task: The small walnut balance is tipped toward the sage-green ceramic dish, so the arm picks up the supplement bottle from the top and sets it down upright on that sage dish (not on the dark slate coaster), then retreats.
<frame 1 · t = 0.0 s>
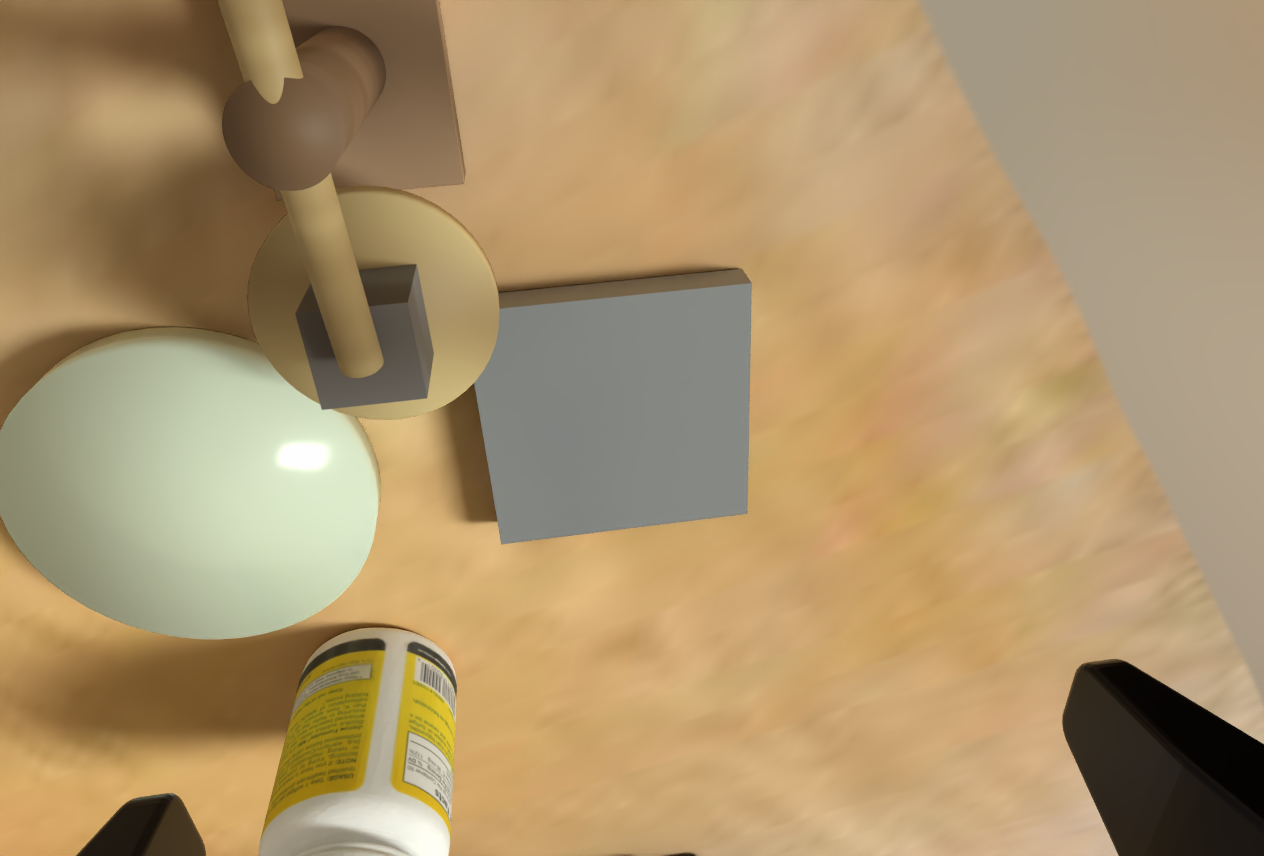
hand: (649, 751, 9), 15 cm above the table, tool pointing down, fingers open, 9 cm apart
sage dish: (206, 482, 23), on the table
balance: (352, 62, 18), on the table
slate coaster: (613, 403, 23), on the table
supplement bottle: (382, 672, 28), on the table
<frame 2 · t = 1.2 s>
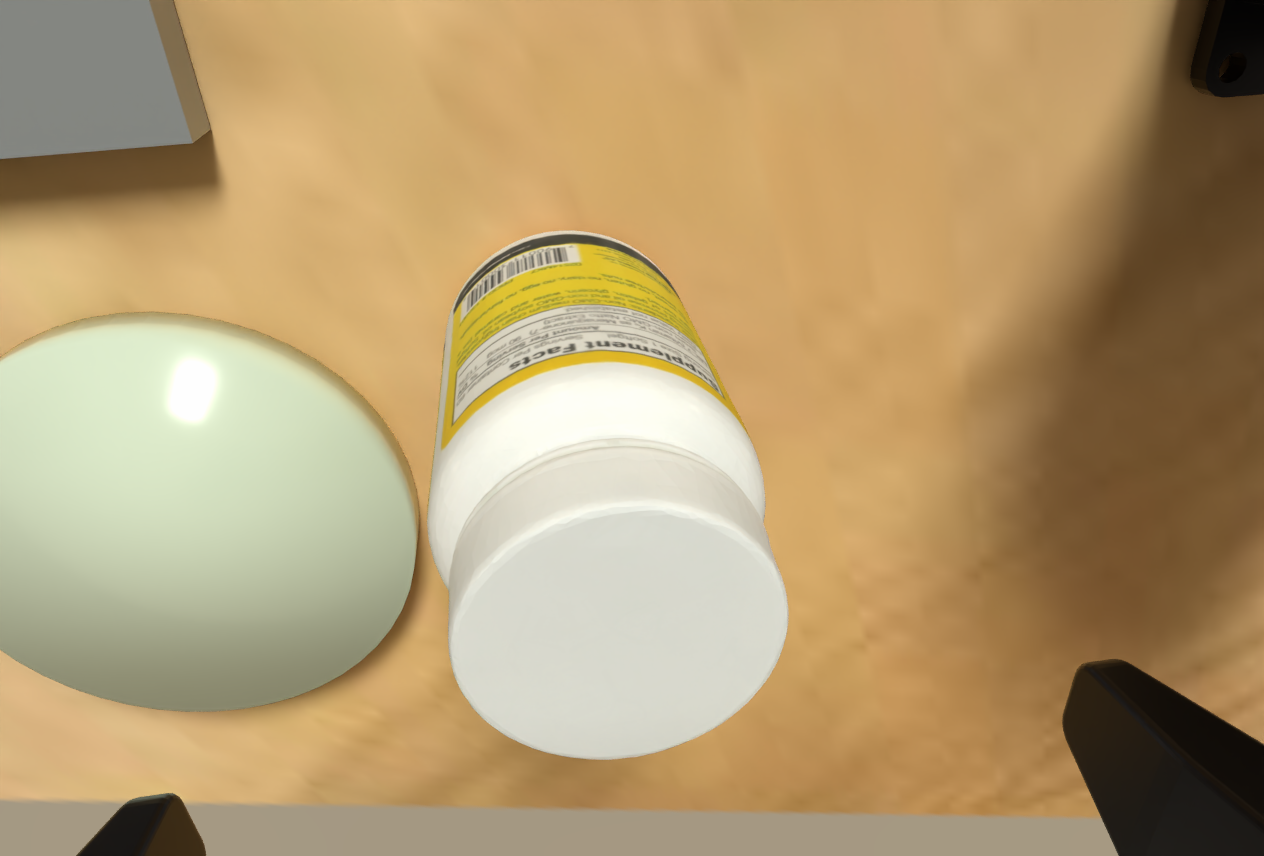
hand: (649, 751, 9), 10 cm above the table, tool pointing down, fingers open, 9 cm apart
sage dish: (195, 513, 18), on the table
supplement bottle: (567, 336, 17), on the table
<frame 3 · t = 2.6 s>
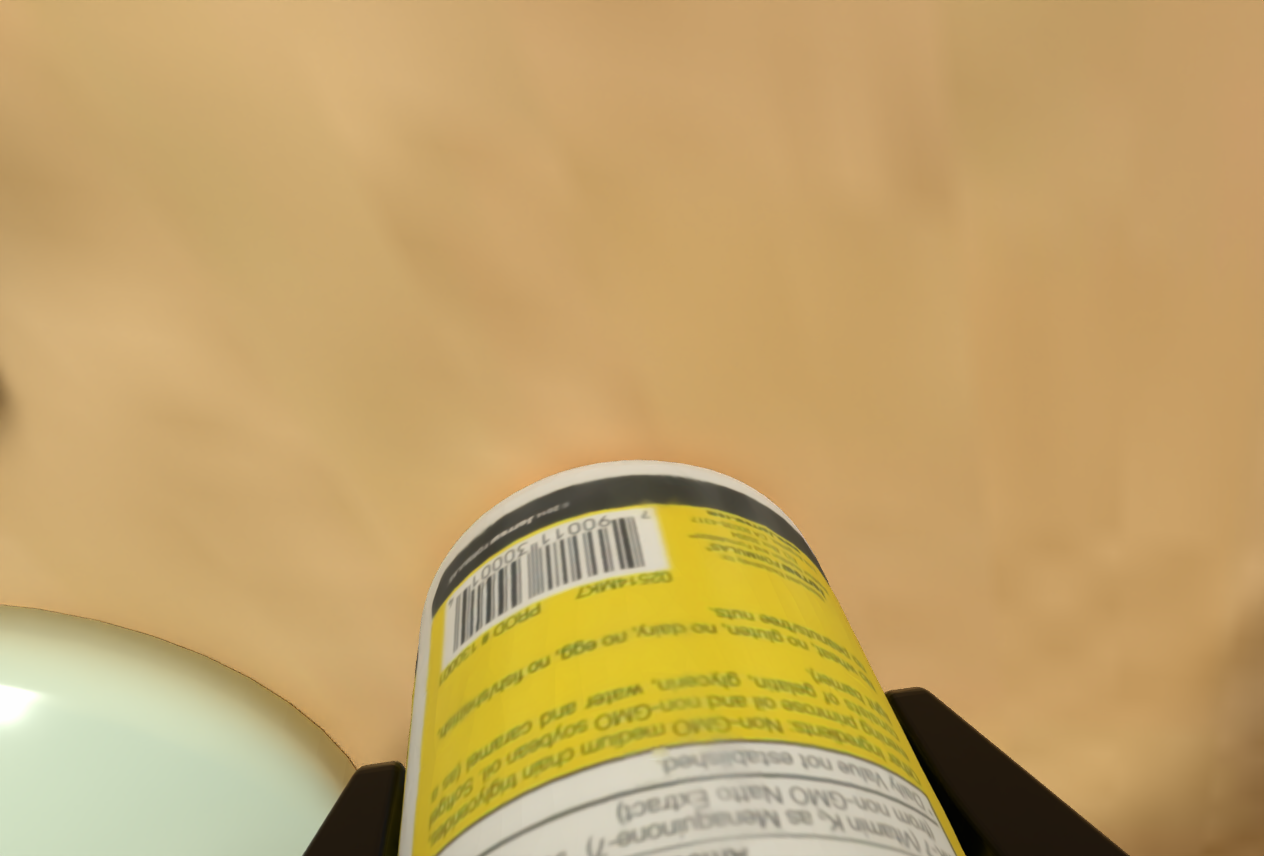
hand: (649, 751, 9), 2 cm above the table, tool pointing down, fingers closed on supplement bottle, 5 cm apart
supplement bottle: (622, 601, 11), on the table, touching gripper
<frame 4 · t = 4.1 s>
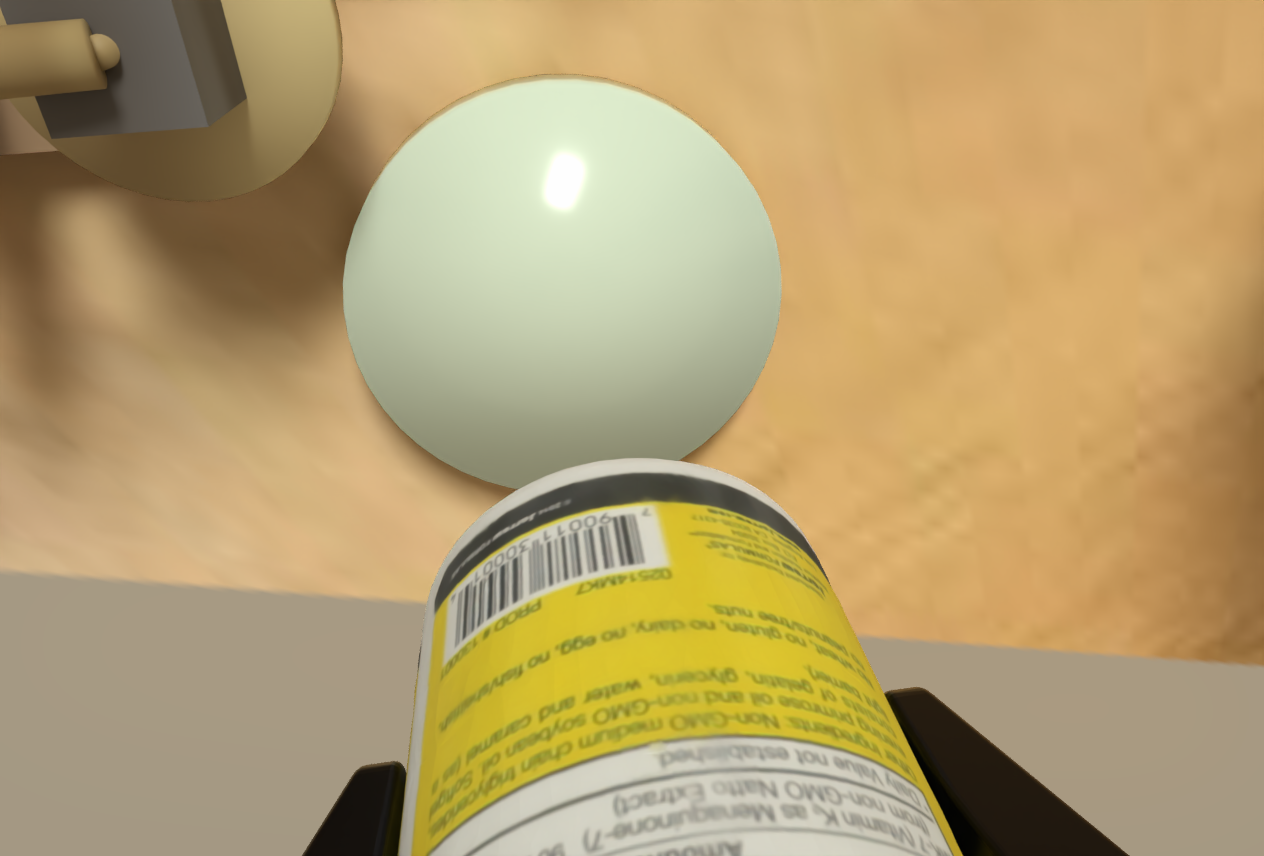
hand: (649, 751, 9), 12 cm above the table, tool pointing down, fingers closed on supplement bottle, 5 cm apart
sage dish: (565, 292, 19), on the table
supplement bottle: (624, 598, 11), point 10 cm above the table, touching gripper
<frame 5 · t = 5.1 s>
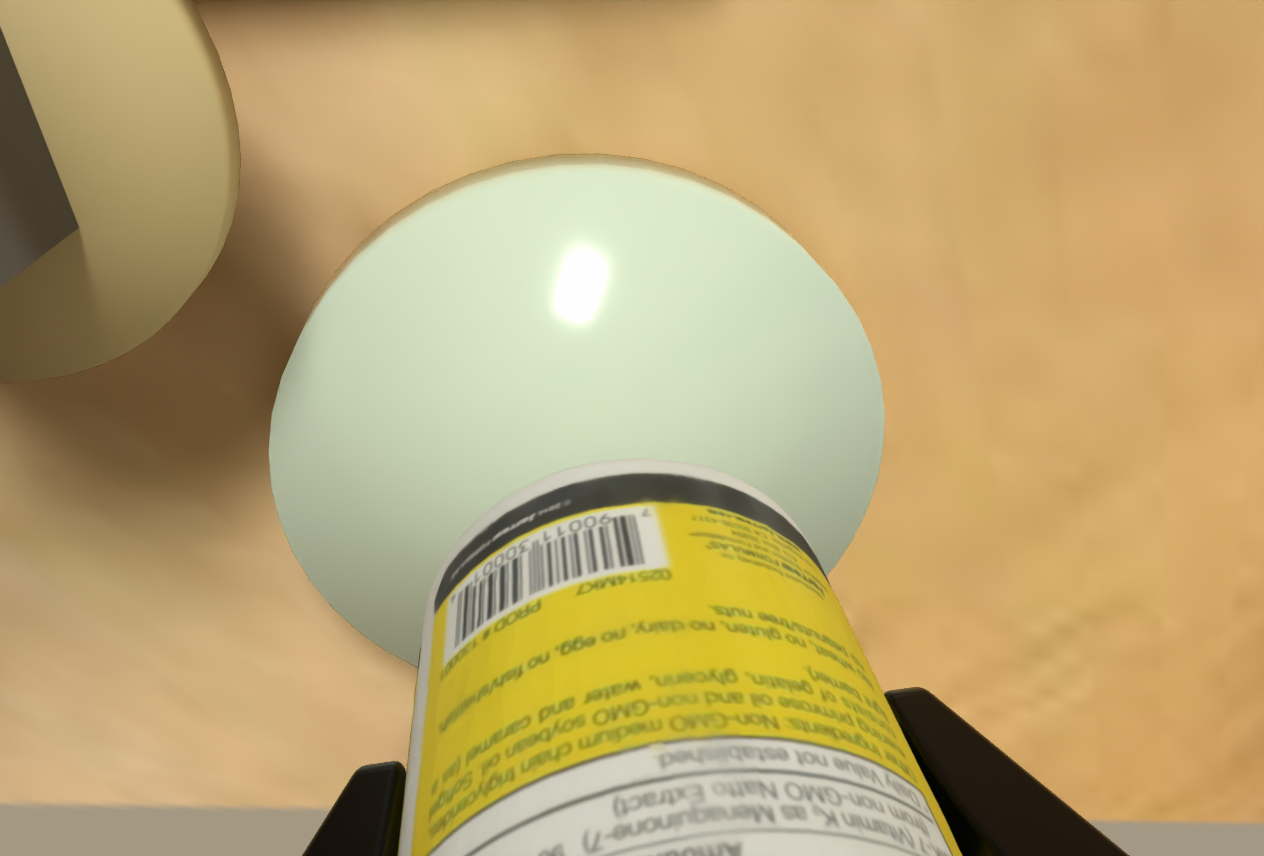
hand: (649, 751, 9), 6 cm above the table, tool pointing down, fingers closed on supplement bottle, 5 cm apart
sage dish: (583, 440, 14), on the table
supplement bottle: (624, 598, 11), point 4 cm above the table, touching gripper
when the fingers open (5 cm above the table, at t = 5.7 s): supplement bottle drops 1 cm, resting on sage dish.
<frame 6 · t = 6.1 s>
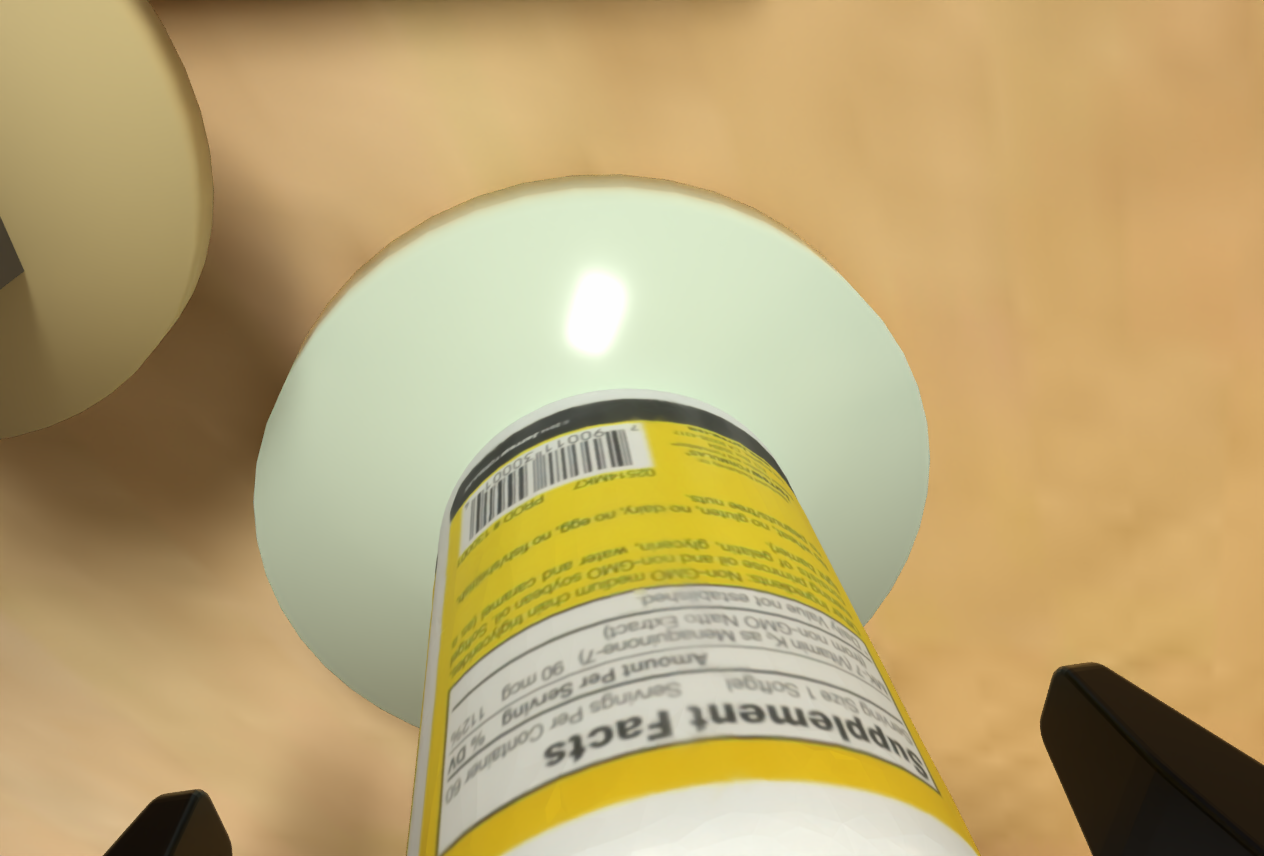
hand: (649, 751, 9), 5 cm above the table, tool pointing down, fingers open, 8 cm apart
sage dish: (598, 483, 13), on the table
supplement bottle: (617, 523, 12), point 1 cm above the table, touching sage dish
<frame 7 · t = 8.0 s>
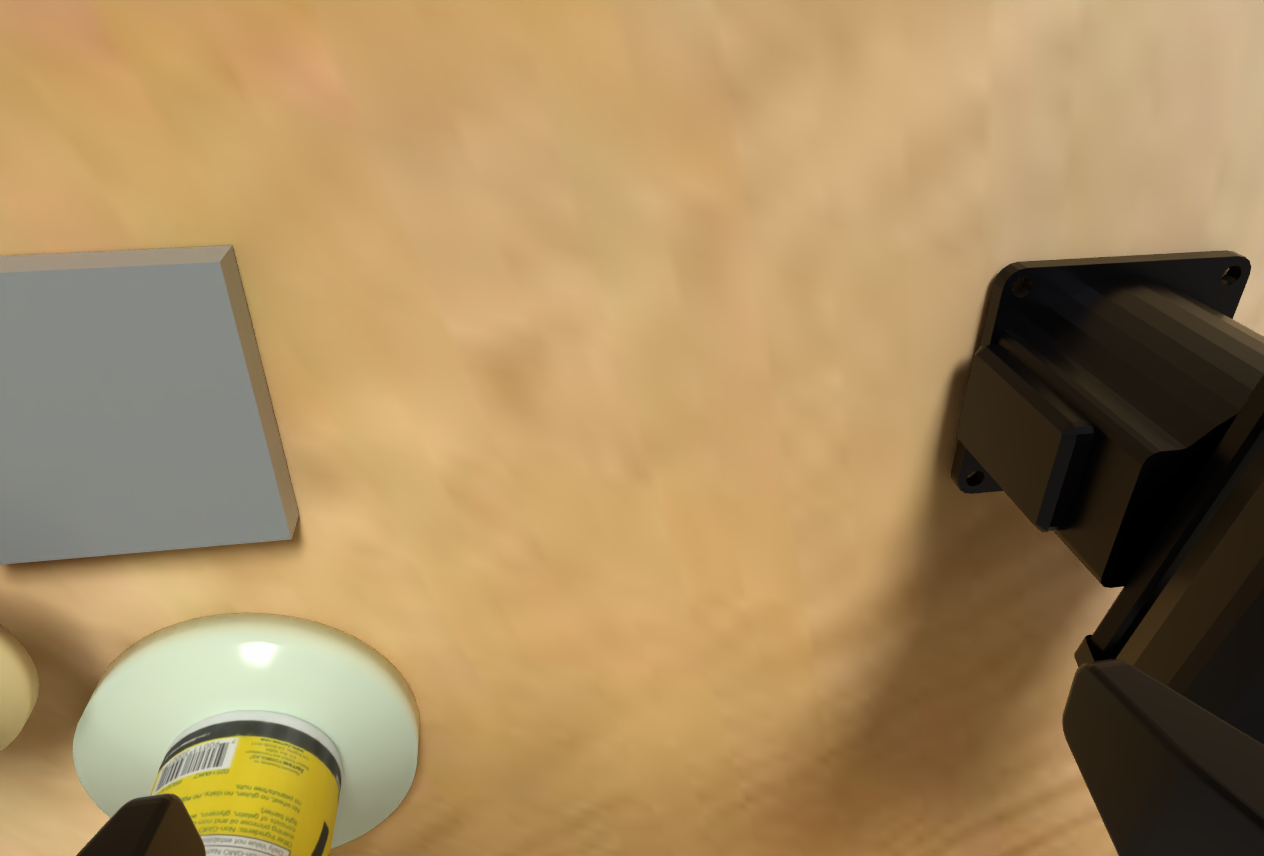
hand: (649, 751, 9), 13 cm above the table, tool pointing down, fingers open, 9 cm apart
sage dish: (261, 728, 25), on the table
slate coaster: (106, 402, 20), on the table
supplement bottle: (259, 756, 24), point 1 cm above the table, touching sage dish
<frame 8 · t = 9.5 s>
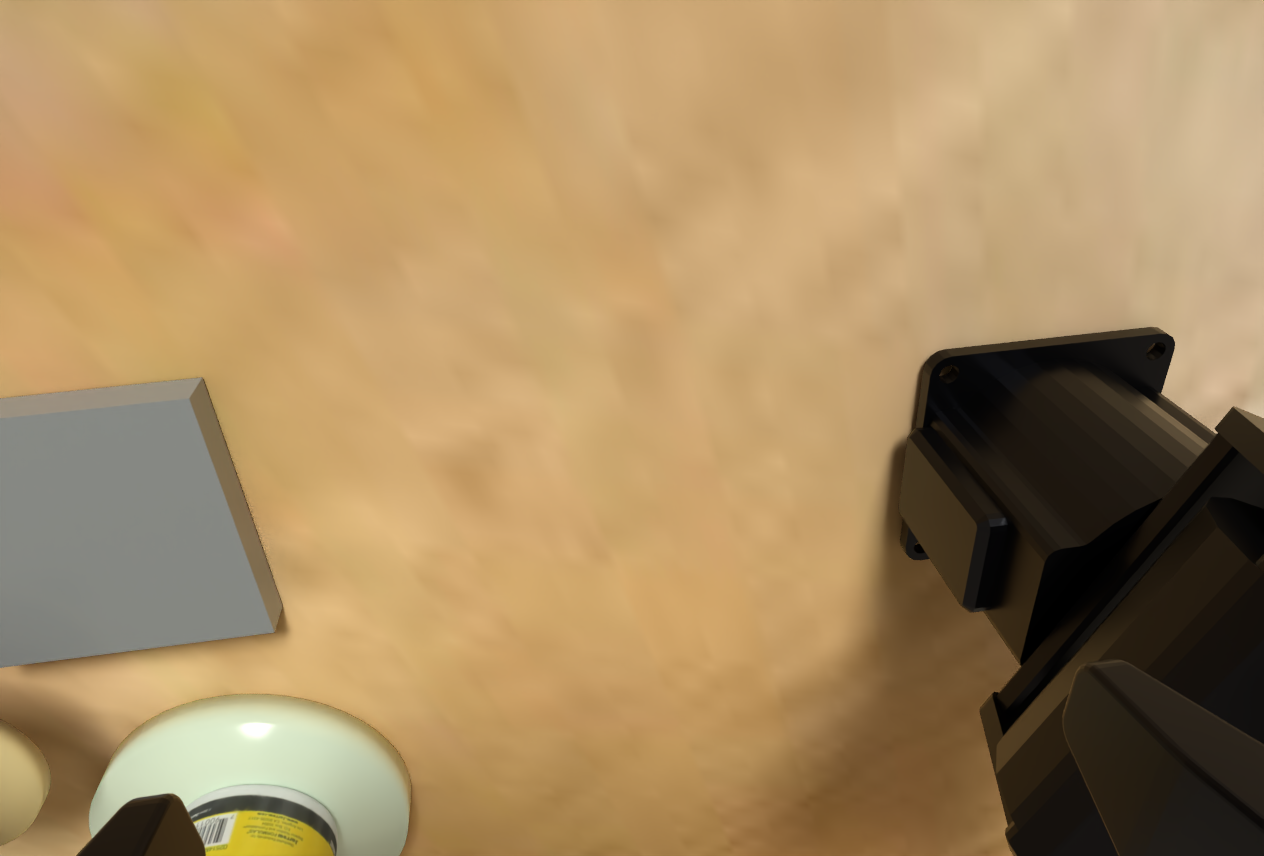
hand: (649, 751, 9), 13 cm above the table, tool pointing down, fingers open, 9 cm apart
sage dish: (263, 795, 27), on the table
slate coaster: (99, 518, 21), on the table
supplement bottle: (261, 823, 26), point 1 cm above the table, touching sage dish
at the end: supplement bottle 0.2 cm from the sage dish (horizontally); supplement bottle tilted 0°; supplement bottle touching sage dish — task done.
